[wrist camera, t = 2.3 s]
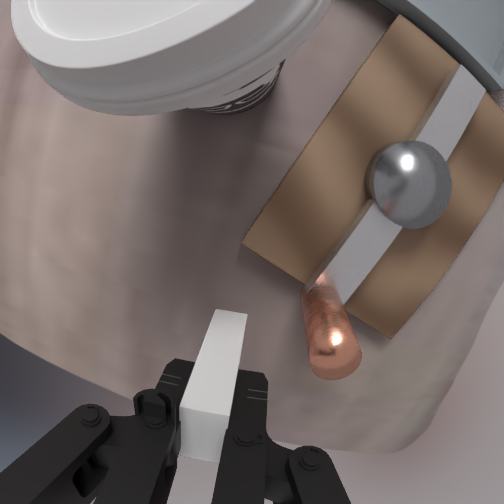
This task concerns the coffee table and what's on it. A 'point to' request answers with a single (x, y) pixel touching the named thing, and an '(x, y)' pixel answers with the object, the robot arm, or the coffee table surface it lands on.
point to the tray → (462, 33)
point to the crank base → (354, 188)
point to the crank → (386, 220)
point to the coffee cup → (163, 50)
